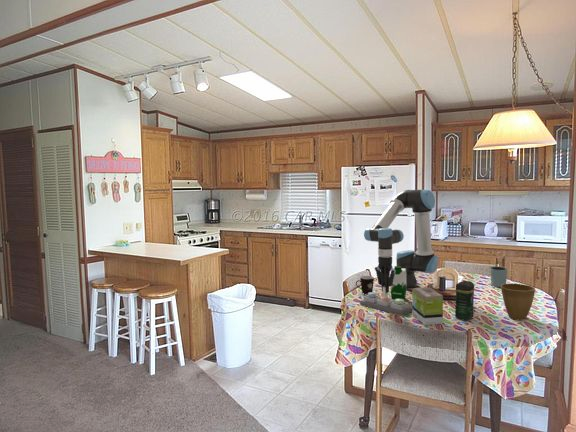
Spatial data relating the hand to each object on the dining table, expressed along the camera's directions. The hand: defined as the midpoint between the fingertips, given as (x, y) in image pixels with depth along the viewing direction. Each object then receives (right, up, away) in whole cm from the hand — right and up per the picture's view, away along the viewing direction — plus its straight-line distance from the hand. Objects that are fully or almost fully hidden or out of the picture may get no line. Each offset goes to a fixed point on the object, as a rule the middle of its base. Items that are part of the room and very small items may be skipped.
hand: (385, 297), depth 220 cm
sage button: (+6, -2, -6) cm, 9 cm away
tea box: (+16, -7, -20) cm, 27 cm away
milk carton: (+12, -4, +16) cm, 20 cm away
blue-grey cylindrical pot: (+83, 0, +37) cm, 91 cm away
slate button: (-6, -1, +7) cm, 9 cm away
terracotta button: (0, -3, 0) cm, 3 cm away
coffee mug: (-6, -3, +30) cm, 31 cm away
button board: (0, -5, +1) cm, 6 cm away
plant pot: (+62, -6, -21) cm, 65 cm away
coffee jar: (+36, -6, -18) cm, 41 cm away
